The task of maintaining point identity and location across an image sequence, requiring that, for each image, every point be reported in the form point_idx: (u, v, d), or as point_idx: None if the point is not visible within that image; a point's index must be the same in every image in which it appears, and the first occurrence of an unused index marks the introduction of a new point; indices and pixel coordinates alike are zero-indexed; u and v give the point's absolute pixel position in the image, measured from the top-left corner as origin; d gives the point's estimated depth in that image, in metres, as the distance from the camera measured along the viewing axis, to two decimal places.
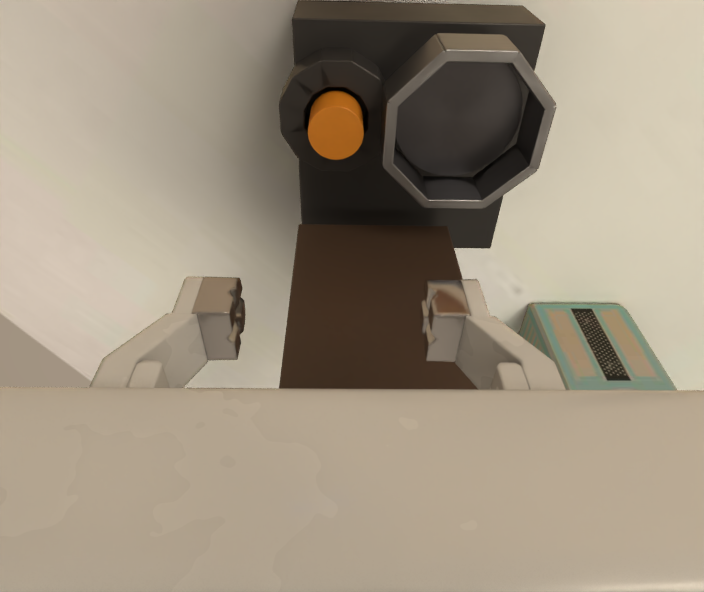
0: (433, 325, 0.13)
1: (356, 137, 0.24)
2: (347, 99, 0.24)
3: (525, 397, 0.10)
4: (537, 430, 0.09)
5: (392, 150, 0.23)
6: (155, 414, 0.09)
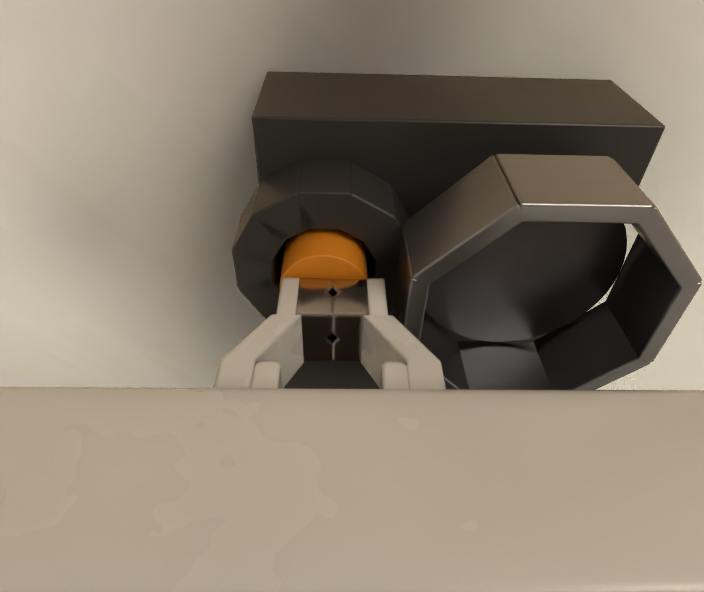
0: (332, 324, 0.13)
1: None
2: (341, 235, 0.15)
3: (525, 397, 0.10)
4: (537, 430, 0.09)
5: None
6: (155, 414, 0.09)
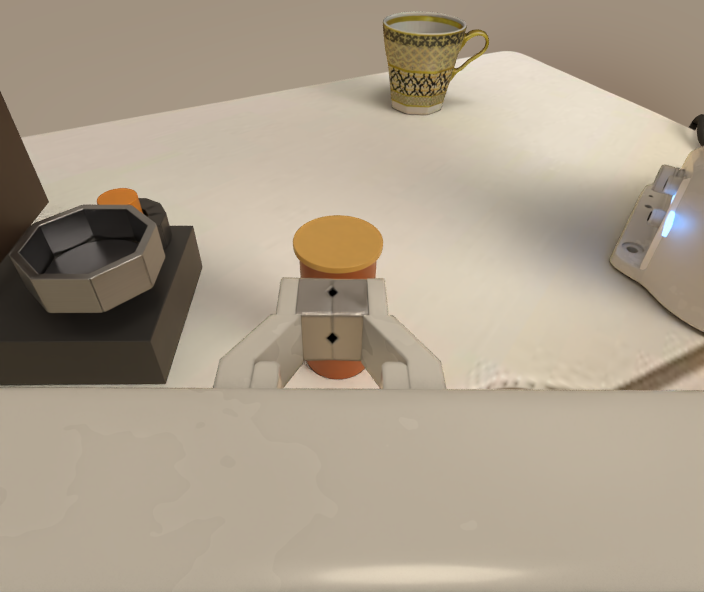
0: (332, 324, 0.13)
1: None
2: None
3: (525, 397, 0.10)
4: (537, 430, 0.09)
5: (94, 207, 0.32)
6: (155, 414, 0.09)
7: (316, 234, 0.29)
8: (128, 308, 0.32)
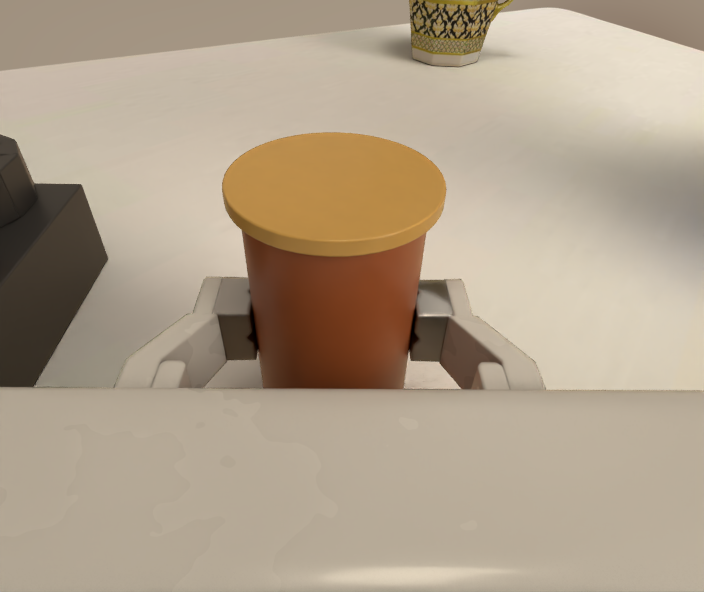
0: (416, 325, 0.13)
1: None
2: None
3: (525, 397, 0.10)
4: (537, 430, 0.09)
5: None
6: (155, 414, 0.09)
7: (284, 165, 0.12)
8: None
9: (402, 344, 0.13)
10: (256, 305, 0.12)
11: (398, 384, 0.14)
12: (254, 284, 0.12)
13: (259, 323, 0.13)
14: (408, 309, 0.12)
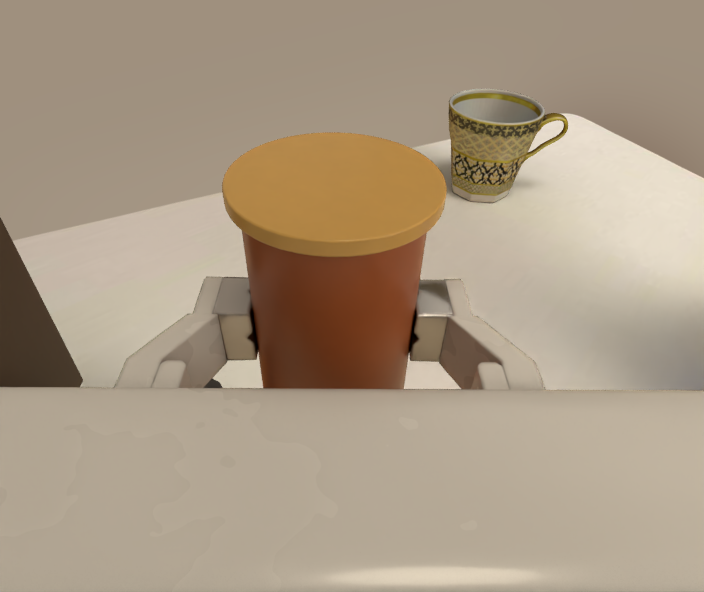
0: (416, 325, 0.13)
1: None
2: None
3: (525, 397, 0.10)
4: (537, 430, 0.09)
5: None
6: (155, 414, 0.09)
7: (283, 165, 0.12)
8: None
9: (402, 344, 0.13)
10: (256, 305, 0.12)
11: (398, 384, 0.14)
12: (254, 284, 0.12)
13: (259, 323, 0.13)
14: (408, 309, 0.12)
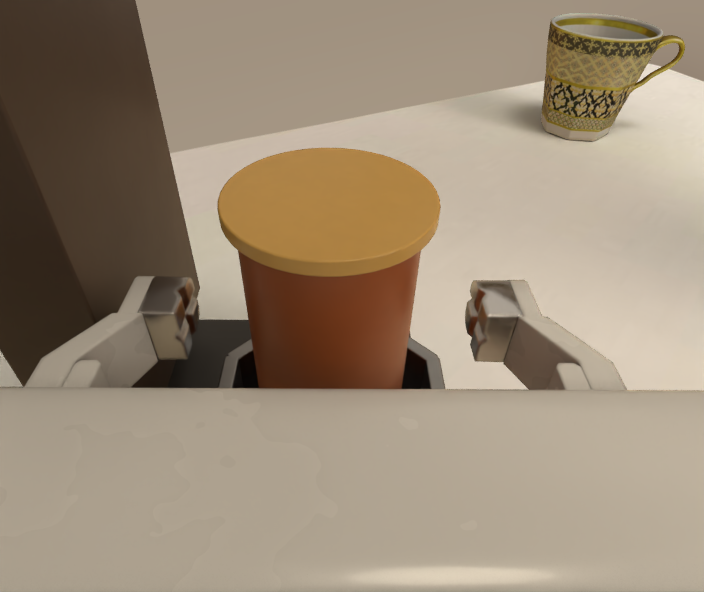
0: (485, 325, 0.13)
1: None
2: None
3: (525, 397, 0.10)
4: (537, 430, 0.09)
5: None
6: (155, 414, 0.09)
7: (278, 183, 0.12)
8: None
9: (397, 358, 0.13)
10: (252, 321, 0.13)
11: None
12: (250, 301, 0.12)
13: (256, 338, 0.13)
14: (403, 324, 0.13)
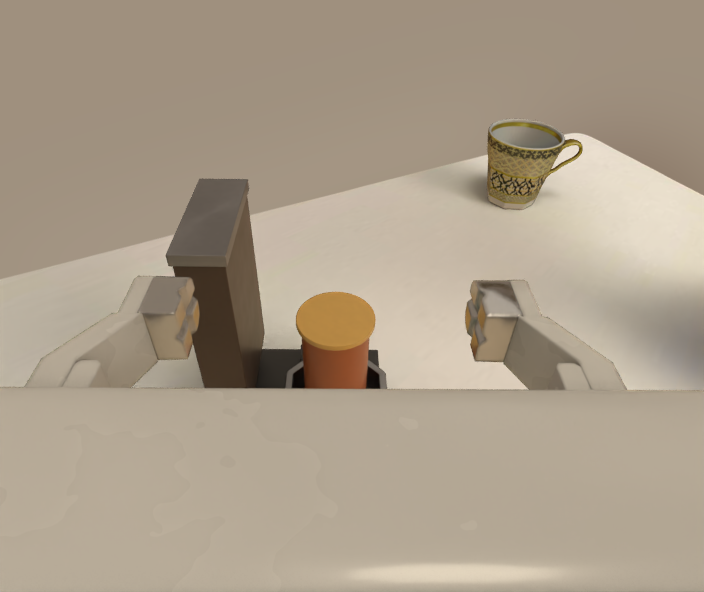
0: (485, 325, 0.13)
1: None
2: None
3: (525, 397, 0.10)
4: (537, 430, 0.09)
5: None
6: (155, 414, 0.09)
7: (317, 311, 0.32)
8: None
9: (362, 375, 0.34)
10: (306, 361, 0.33)
11: None
12: (306, 354, 0.33)
13: (306, 367, 0.33)
14: (363, 362, 0.33)
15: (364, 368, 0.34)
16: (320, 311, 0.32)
